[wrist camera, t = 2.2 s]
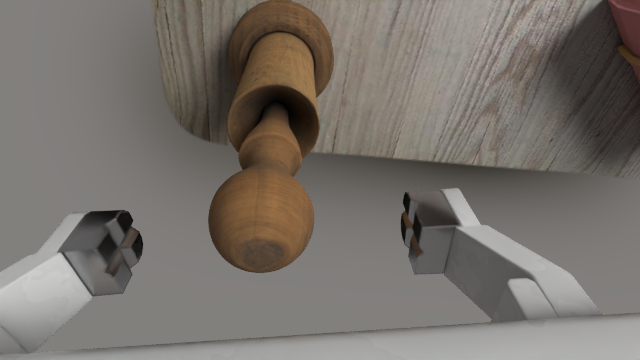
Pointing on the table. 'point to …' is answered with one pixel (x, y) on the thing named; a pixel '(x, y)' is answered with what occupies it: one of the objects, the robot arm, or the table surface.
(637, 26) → the book
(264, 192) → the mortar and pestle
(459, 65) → the table surface
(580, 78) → the table surface
